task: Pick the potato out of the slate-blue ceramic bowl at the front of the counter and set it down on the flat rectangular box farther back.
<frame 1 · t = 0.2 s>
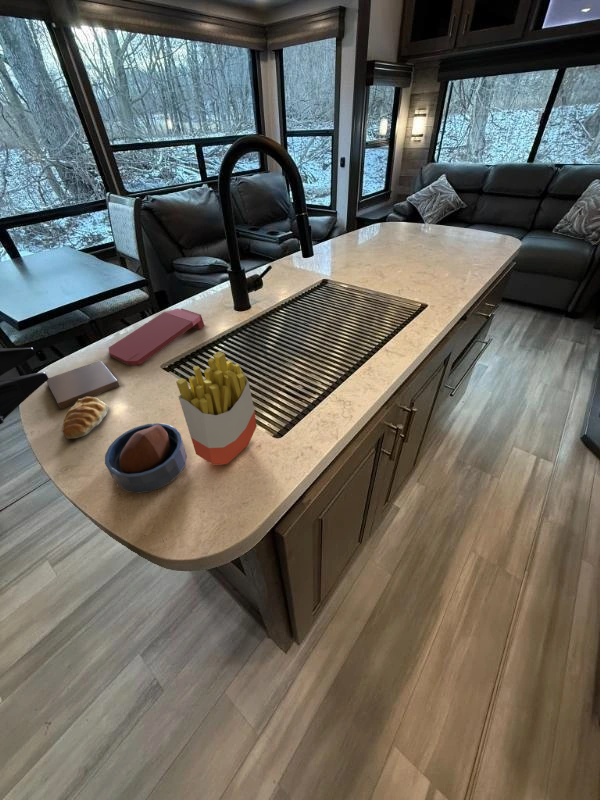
hand: (40, 362, 48), 19 cm above the worktop, tool horizontal, fingers open, 9 cm apart
potato: (151, 464, 57), resting on bowl
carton: (161, 341, 92), on the worktop
french fries container: (230, 450, 60), on the worktop
bowl: (152, 465, 57), on the worktop
flat rectangular box: (83, 385, 76), on the worktop
pastry: (88, 422, 66), on the worktop
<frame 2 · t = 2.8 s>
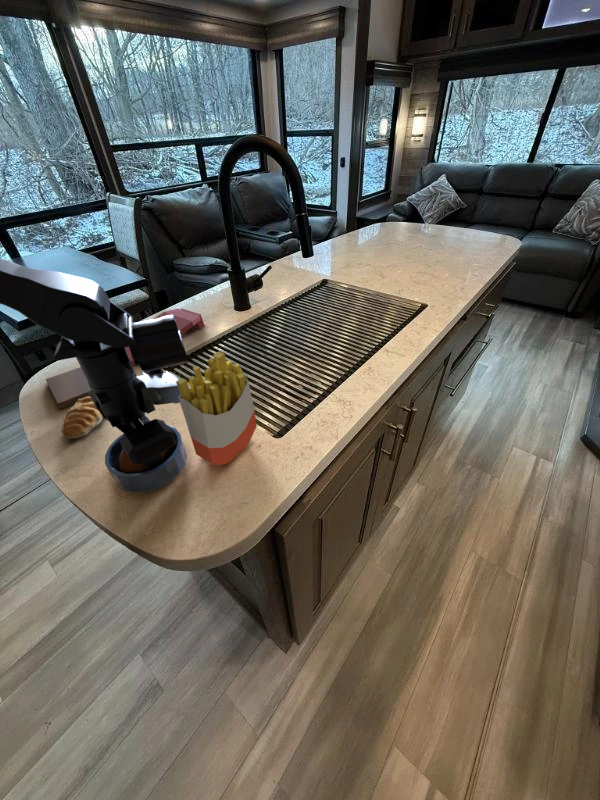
hand: (146, 453, 55), 3 cm above the worktop, tool pointing down, fingers open, 8 cm apart
nothing on the worktop moved.
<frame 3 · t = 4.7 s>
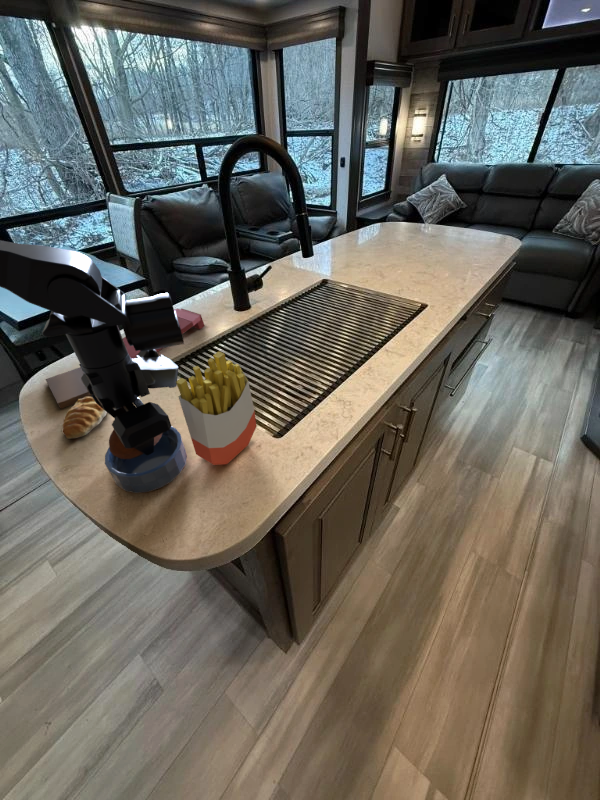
hand: (140, 440, 53), 6 cm above the worktop, tool pointing down, fingers closed on potato, 7 cm apart
potato: (143, 448, 54), point 4 cm above the worktop, touching gripper
everything else where it was.
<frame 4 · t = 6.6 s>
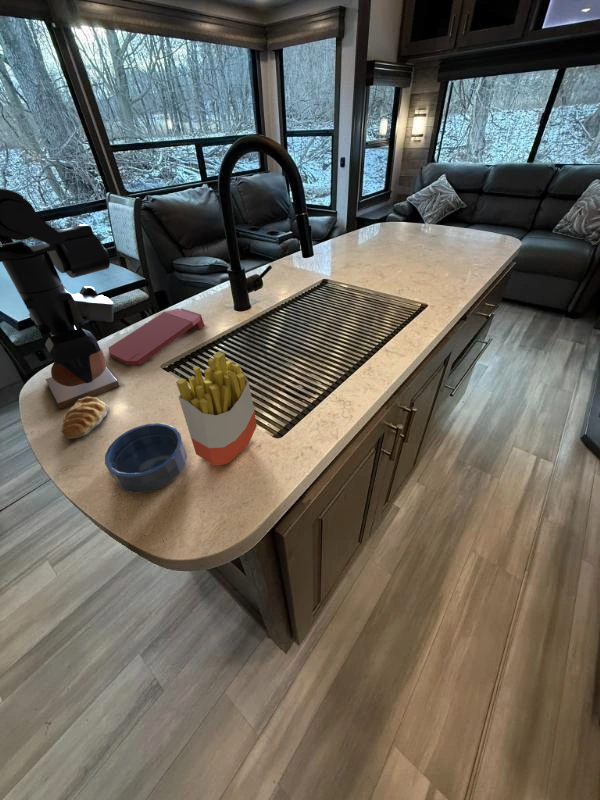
hand: (83, 373, 59), 11 cm above the worktop, tool pointing down, fingers closed on potato, 7 cm apart
potato: (87, 380, 60), point 10 cm above the worktop, touching gripper
everything else where it was.
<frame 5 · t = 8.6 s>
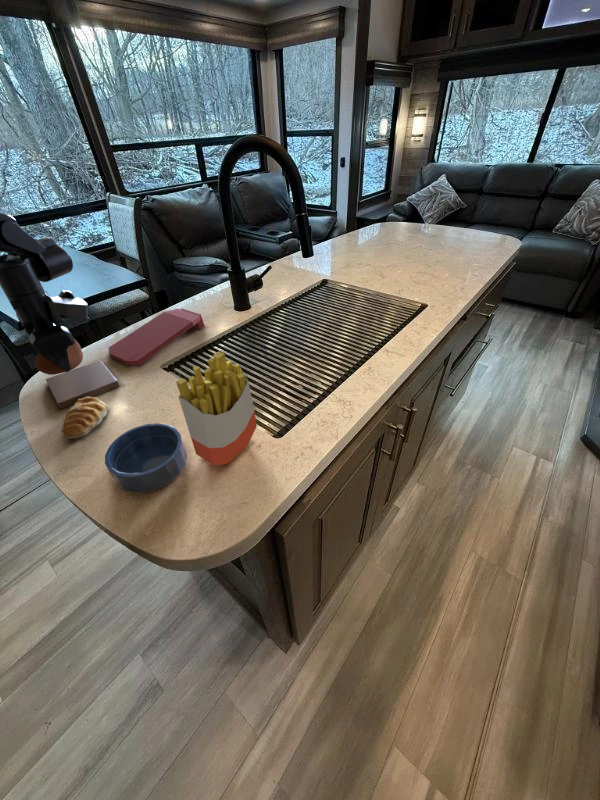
hand: (63, 364, 70), 7 cm above the worktop, tool pointing down, fingers closed on potato, 7 cm apart
potato: (66, 370, 71), point 5 cm above the worktop, touching gripper
everything else where it was.
when the fingers open (3 cm above the worktop, at t = 10.2 s): potato stays where it is, resting on flat rectangular box.
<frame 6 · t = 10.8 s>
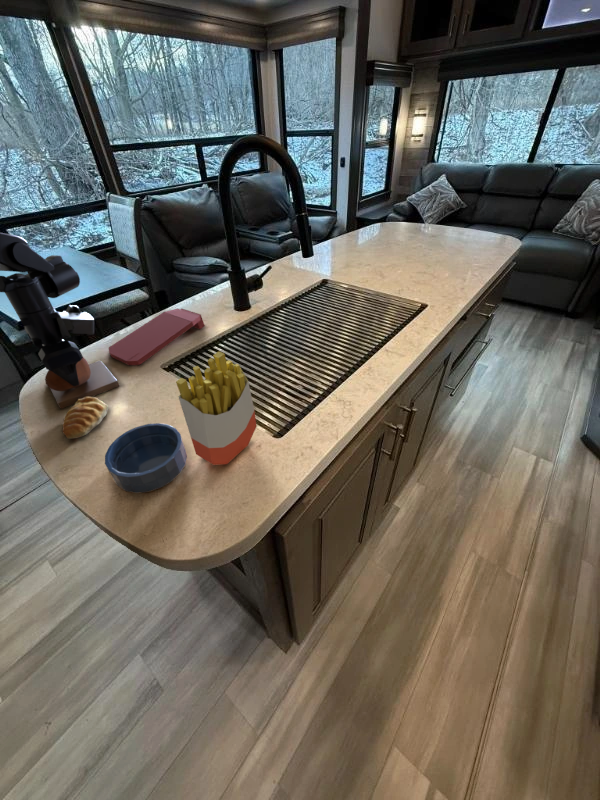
hand: (70, 376, 72), 4 cm above the worktop, tool pointing down, fingers open, 9 cm apart
potato: (75, 386, 73), point 1 cm above the worktop, touching flat rectangular box
everything else where it was.
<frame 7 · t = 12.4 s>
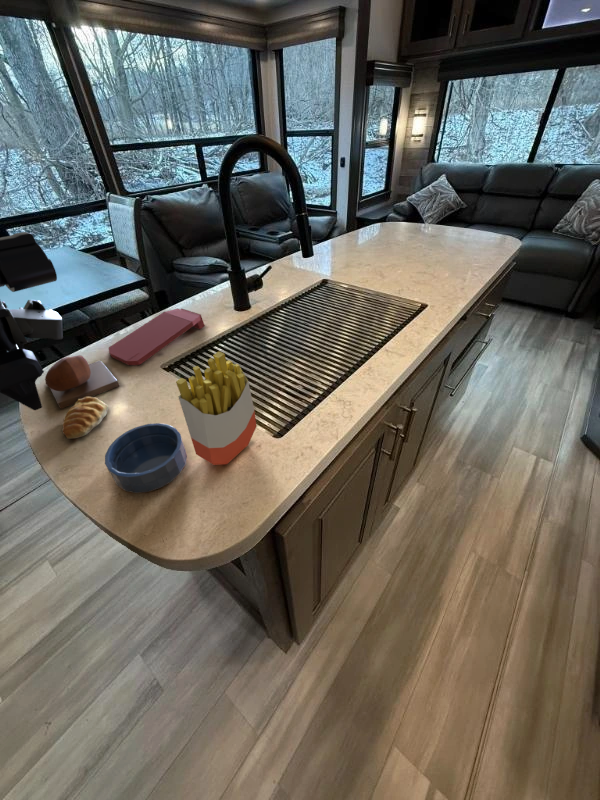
hand: (32, 395, 54), 12 cm above the worktop, tool pointing down, fingers open, 9 cm apart
nothing on the worktop moved.
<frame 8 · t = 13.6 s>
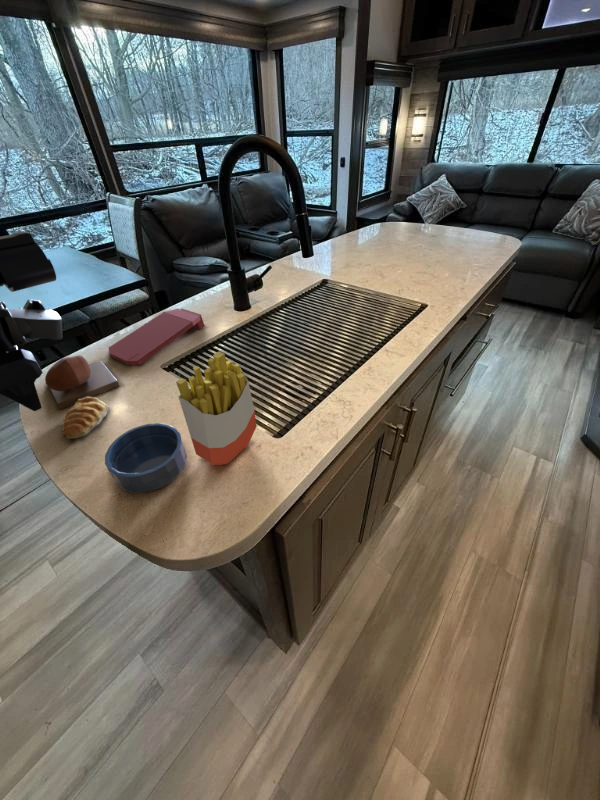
hand: (32, 395, 53), 12 cm above the worktop, tool pointing down, fingers open, 9 cm apart
nothing on the worktop moved.
at the end: potato inside the target area on the flat rectangular box (2.2 cm from its centre), point 1.3 cm above the flat rectangular box's base; potato touching flat rectangular box; the gripper is holding nothing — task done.
